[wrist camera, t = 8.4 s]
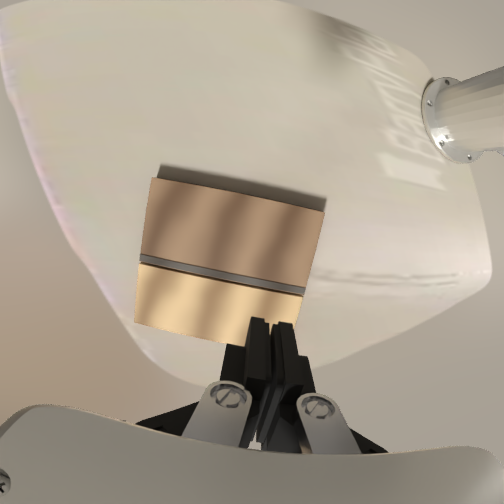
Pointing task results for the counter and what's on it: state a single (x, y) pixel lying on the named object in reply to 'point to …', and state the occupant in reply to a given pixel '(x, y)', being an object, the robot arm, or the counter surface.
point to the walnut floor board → (230, 235)
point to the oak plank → (207, 304)
